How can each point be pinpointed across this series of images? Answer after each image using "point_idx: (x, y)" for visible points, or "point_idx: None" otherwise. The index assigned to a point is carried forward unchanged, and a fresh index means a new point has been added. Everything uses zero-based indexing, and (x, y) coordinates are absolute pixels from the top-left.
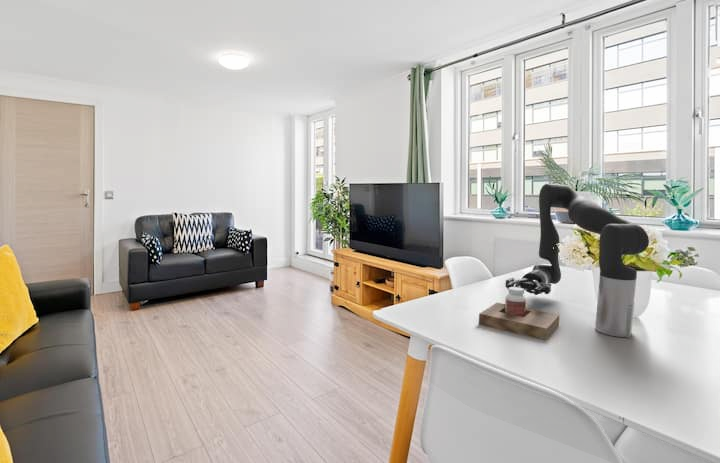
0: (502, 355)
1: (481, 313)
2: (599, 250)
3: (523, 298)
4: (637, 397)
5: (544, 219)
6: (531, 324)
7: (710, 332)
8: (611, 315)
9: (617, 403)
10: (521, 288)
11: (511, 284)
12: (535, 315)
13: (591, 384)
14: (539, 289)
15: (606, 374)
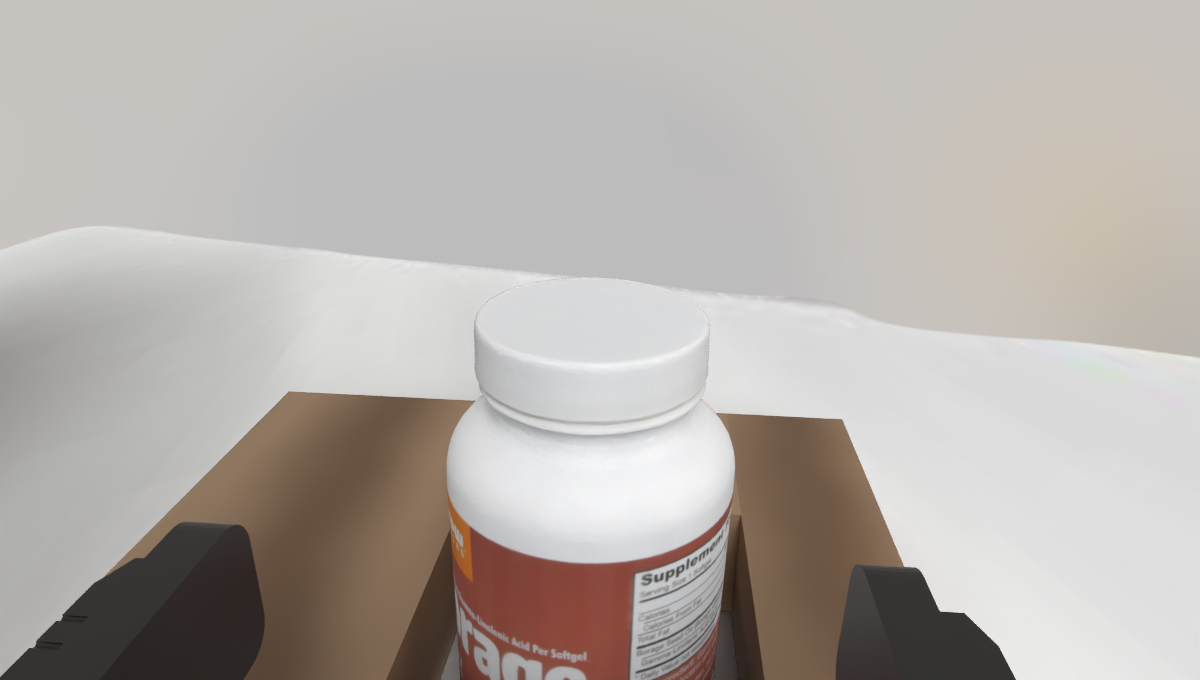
0: None
1: (829, 426)
2: None
3: (477, 400)
4: (101, 280)
5: None
6: (399, 403)
7: None
8: None
9: (194, 256)
10: (520, 339)
11: (875, 627)
12: (329, 590)
13: (226, 284)
14: (89, 606)
15: (118, 329)
